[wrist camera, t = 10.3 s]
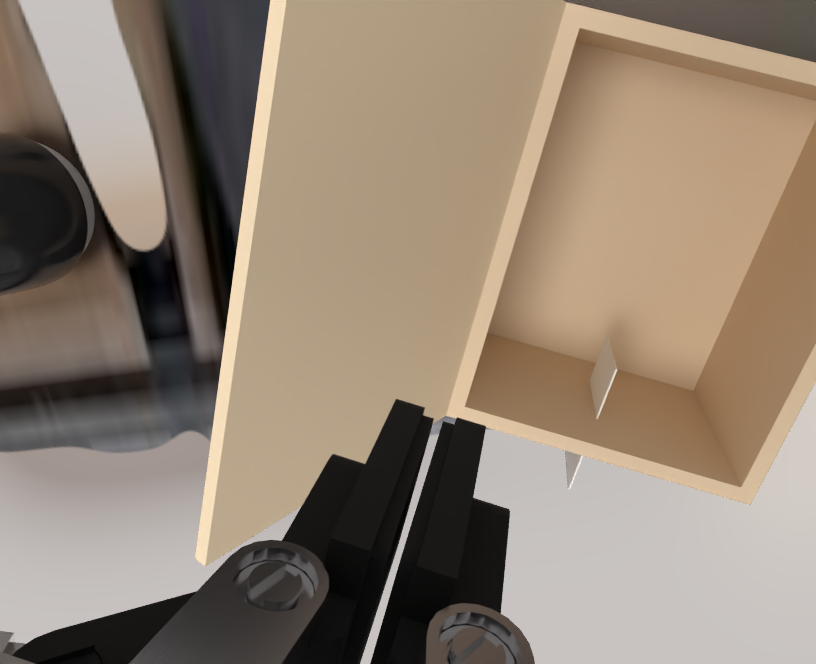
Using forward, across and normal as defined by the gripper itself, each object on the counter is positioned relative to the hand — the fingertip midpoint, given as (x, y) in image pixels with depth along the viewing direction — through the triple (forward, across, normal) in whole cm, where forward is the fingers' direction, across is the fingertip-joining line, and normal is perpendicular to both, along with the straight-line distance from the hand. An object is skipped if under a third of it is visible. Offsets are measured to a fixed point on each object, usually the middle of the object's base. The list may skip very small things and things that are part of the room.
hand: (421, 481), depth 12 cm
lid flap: (+14, +3, 0) cm, 14 cm away
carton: (+33, -8, +2) cm, 34 cm away
